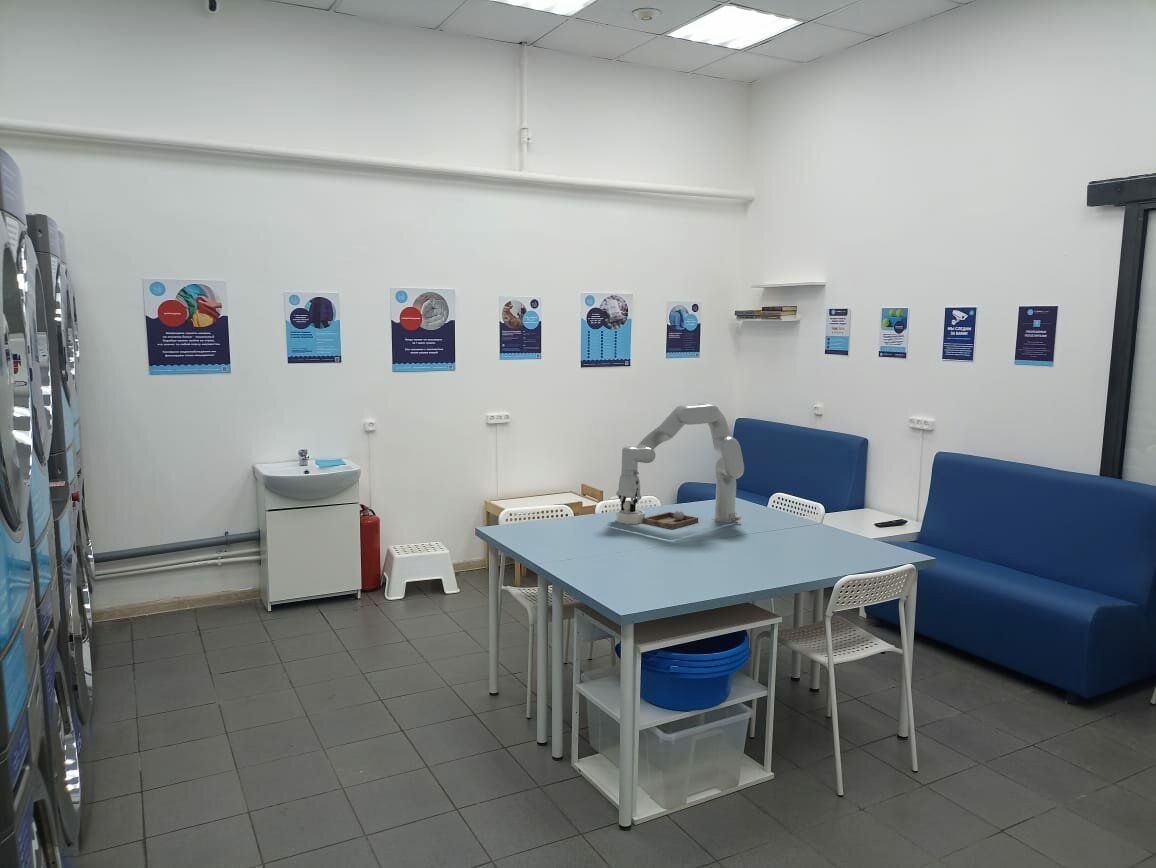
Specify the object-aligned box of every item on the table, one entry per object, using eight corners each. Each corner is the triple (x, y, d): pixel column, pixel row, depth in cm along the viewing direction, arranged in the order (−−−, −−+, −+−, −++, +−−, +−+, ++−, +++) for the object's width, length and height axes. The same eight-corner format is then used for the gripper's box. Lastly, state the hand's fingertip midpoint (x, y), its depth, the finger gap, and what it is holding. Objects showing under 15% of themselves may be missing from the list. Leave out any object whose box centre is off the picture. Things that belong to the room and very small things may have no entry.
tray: (698, 523, 386) (698, 517, 385) (672, 530, 370) (672, 524, 370) (669, 517, 397) (669, 511, 397) (642, 524, 382) (642, 518, 381)
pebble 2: (685, 520, 388) (686, 510, 388) (679, 522, 385) (680, 511, 384) (677, 518, 392) (677, 508, 391) (671, 520, 388) (671, 510, 388)
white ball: (639, 521, 388) (645, 516, 385) (632, 524, 385) (638, 519, 381) (633, 512, 389) (639, 507, 386) (627, 515, 386) (633, 510, 383)
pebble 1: (635, 511, 384) (635, 500, 383) (628, 512, 380) (629, 502, 380) (627, 509, 387) (627, 499, 387) (620, 511, 384) (620, 500, 383)
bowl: (649, 522, 386) (649, 512, 386) (632, 526, 377) (632, 516, 376) (628, 517, 395) (628, 507, 394) (611, 521, 386) (611, 511, 385)
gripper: (648, 474, 379) (647, 512, 381) (620, 469, 390) (619, 507, 392) (638, 476, 373) (637, 515, 375) (610, 471, 385) (609, 509, 387)
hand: (628, 510), depth 384 cm, fingers closed on pebble 1, 4 cm apart
